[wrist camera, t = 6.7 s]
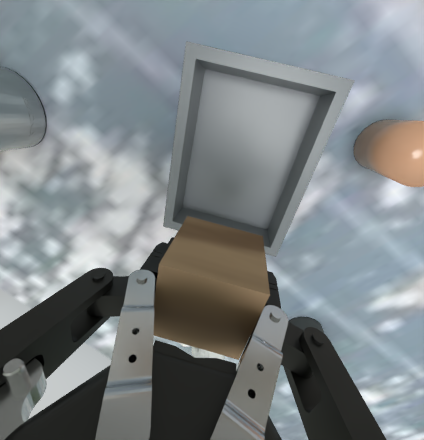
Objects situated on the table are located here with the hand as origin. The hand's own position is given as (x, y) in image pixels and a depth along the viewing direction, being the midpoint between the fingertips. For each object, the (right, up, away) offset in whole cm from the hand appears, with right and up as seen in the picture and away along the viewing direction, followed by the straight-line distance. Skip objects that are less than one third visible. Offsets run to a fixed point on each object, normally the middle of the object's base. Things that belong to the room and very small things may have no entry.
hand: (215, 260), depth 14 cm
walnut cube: (0, 0, 0) cm, 0 cm away
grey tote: (+3, +10, +11) cm, 16 cm away
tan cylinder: (+18, +11, +9) cm, 23 cm away
